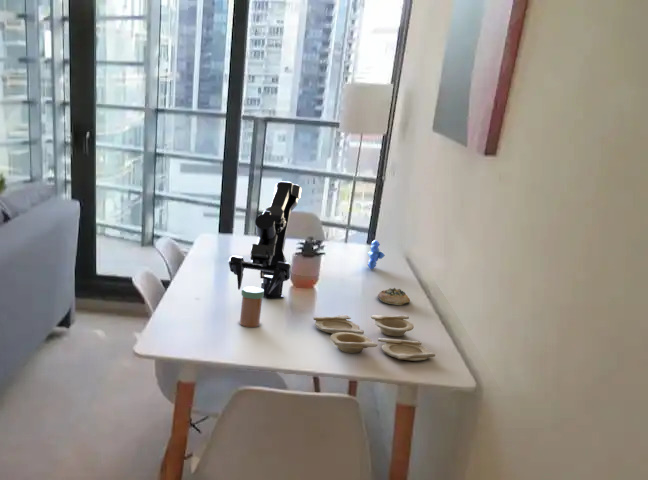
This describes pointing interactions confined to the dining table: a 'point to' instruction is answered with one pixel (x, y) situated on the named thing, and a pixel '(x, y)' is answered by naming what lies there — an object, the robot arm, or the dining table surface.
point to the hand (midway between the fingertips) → (253, 291)
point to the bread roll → (393, 296)
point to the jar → (250, 312)
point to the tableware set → (388, 325)
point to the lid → (252, 292)
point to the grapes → (374, 254)
